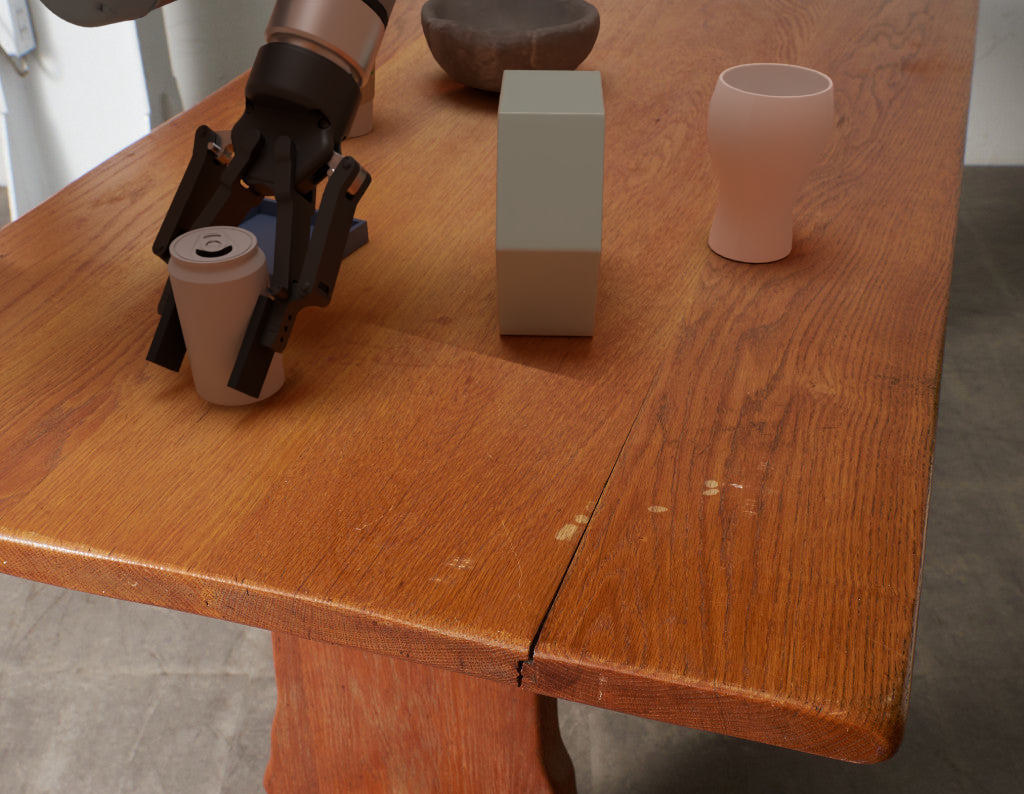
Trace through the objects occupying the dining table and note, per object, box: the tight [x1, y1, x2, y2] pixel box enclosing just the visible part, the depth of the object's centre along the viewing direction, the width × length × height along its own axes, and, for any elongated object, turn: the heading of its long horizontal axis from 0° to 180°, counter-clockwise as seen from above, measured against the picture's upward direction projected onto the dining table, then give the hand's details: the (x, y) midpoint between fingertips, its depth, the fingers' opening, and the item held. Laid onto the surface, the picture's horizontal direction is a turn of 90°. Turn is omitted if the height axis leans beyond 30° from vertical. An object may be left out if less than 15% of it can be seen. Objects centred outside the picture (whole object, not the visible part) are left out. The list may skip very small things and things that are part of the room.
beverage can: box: [167, 226, 286, 407], centre depth 70 cm, size 6×6×12 cm
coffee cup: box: [347, 61, 376, 139], centre depth 115 cm, size 10×10×15 cm
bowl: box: [420, 0, 601, 93], centre depth 128 cm, size 23×22×10 cm
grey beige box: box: [494, 70, 606, 337], centre depth 81 cm, size 17×8×21 cm
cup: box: [706, 62, 835, 264], centre depth 90 cm, size 11×11×15 cm
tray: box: [238, 197, 370, 287], centre depth 93 cm, size 13×13×2 cm
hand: (202, 378), depth 70 cm, fingers closed on beverage can, 6 cm apart
